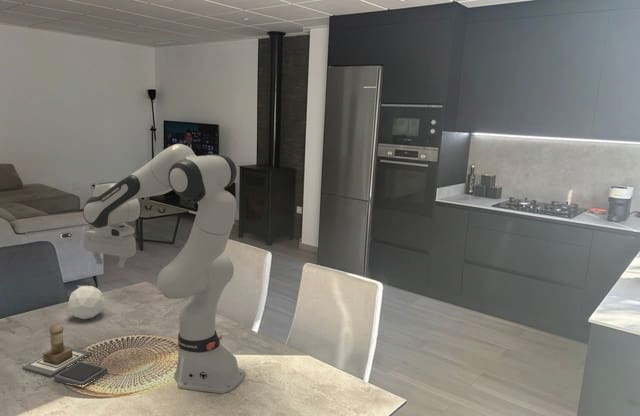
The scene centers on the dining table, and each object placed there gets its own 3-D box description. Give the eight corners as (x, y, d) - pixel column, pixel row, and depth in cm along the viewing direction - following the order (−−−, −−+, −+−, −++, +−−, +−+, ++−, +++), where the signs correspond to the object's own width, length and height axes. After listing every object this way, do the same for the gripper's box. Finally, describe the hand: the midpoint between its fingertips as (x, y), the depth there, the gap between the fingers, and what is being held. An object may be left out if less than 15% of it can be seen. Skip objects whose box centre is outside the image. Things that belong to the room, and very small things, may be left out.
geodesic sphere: (52, 305, 186) (67, 282, 181) (78, 294, 199) (93, 272, 194) (76, 331, 184) (92, 308, 180) (101, 318, 197) (117, 296, 193)
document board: (91, 354, 161) (91, 352, 161) (51, 377, 146) (50, 374, 146) (64, 347, 165) (64, 345, 165) (22, 369, 150) (22, 366, 150)
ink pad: (107, 372, 150) (106, 367, 150) (82, 388, 141) (81, 382, 141) (80, 365, 154) (80, 360, 153) (54, 380, 144) (54, 375, 144)
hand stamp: (72, 357, 157) (70, 321, 155) (57, 365, 152) (55, 329, 149) (58, 353, 159) (56, 318, 157) (43, 361, 153) (41, 325, 151)
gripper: (78, 226, 163) (79, 264, 165) (125, 233, 157) (126, 272, 159) (92, 222, 169) (93, 259, 171) (138, 229, 162) (139, 267, 165)
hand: (109, 265), depth 165 cm, fingers open, 8 cm apart
